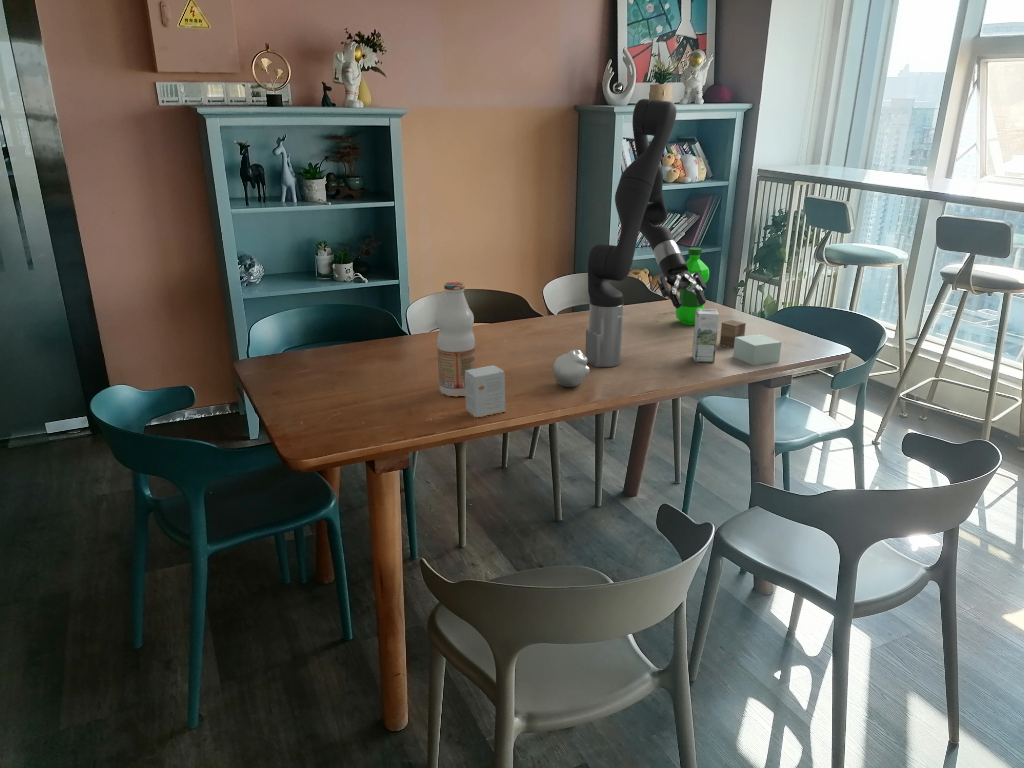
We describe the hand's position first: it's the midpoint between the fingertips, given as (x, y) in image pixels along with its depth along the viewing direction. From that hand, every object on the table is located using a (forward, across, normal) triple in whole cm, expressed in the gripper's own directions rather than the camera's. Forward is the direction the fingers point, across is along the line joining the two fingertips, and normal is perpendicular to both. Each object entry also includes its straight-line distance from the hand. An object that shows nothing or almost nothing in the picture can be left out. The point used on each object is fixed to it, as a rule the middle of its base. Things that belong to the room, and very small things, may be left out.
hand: (691, 305), depth 216 cm
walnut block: (+10, +17, +11) cm, 22 cm away
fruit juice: (+11, -73, +9) cm, 74 cm away
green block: (+20, +14, +1) cm, 24 cm away
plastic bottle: (-8, +21, +29) cm, 37 cm away
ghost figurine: (+17, -45, +3) cm, 48 cm away
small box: (+22, -72, -2) cm, 75 cm away
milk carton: (+15, 0, +5) cm, 16 cm away
